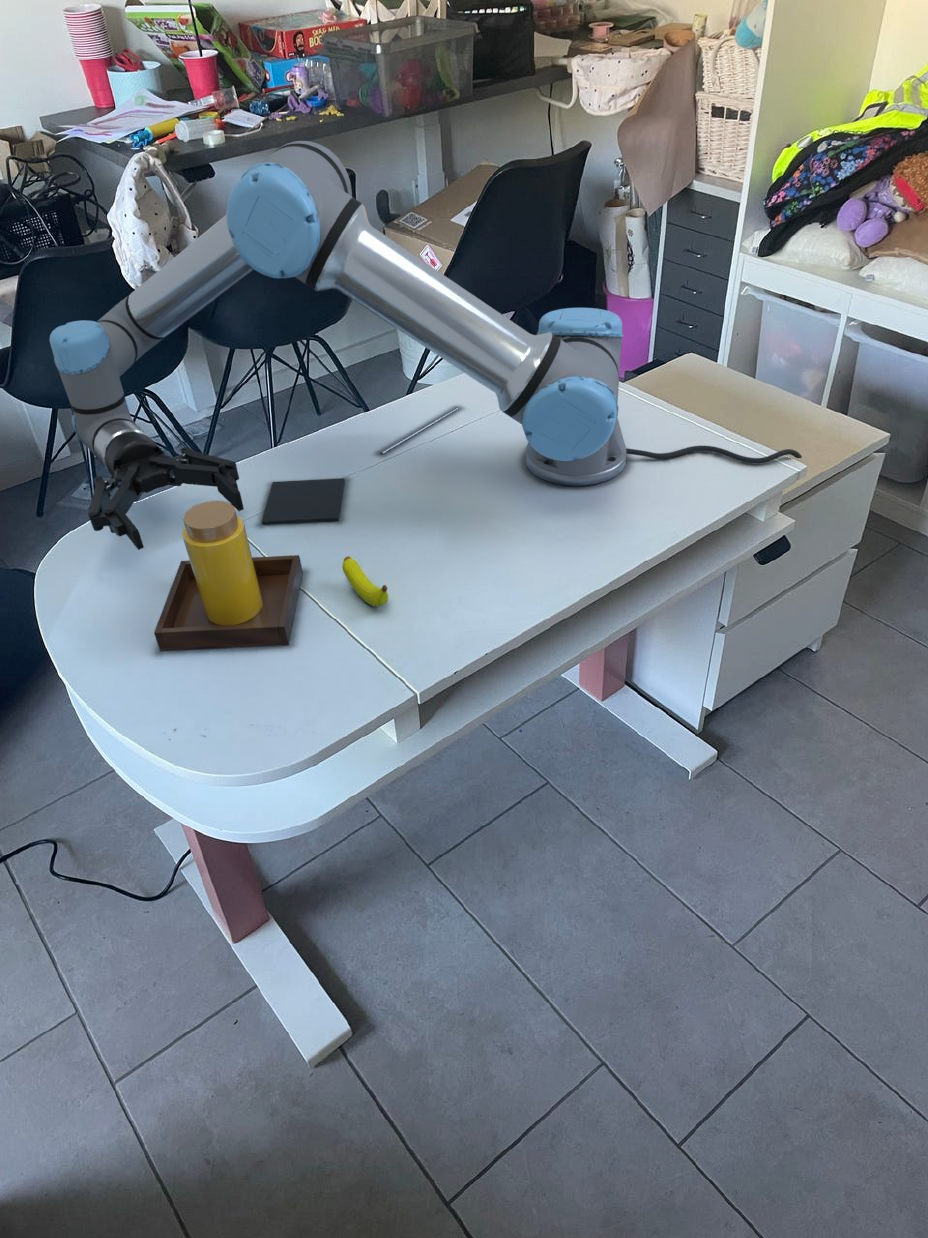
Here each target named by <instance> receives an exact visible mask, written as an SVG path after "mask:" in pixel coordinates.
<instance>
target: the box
mask: <svg viewBox="0 0 928 1238" xmlns="http://www.w3.org/2000/svg"><path fill="white" fill-rule="evenodd" d="M252 559H253V563H254V567H255V571H256V576H257V580H258V584H259V588H260V592H261V596H262V600H263V605H262V608H261V610H260V612H259V613H258V614H257V615H256V616H255V617H253V618H252V619H250V620H248V621H246V622H243V623H241V624H236V625H218V624H215V623H213V622H211V621H210V620H209V619H208V618H207V616H206V614H205V611H204V607H203V604H202V600H201V597H200V594H199V590H198V587H197V583H196V580H195V577H194V573H193V570H192V567H191V563H190V560H181V561H180V562H179V565H178V569H177V571H176V574H175V576H174V579H173V581H172V584H171V587H170V589H169V592H168V593H167V597H166V599H165V603H164V604H163V608H162V611H161V614H160V616H159V618H158V621H157V624H156V626H155V629H154V632H153V634H154V637H155V640H156V643H157V646H158V649H159V651H160V652H175V651H176V652H178V651H179V652H180V651H195V650H196V651H198V650H199V651H201V650H217V649H219V650H220V649H239V648H240V649H241V648H261V647H280V646H290V641H291V636H292V631H293V625H294V622H295V621H294V620H295V616H296V611H297V605H298V600H299V597H300V596H299V595H300V589H301V585H302V581H303V575H304V572H303V566H302V561H301V556H300V554H297V555H296V554H294V555H291V554H289V555H273V556H272V555H271V556H252Z"/></svg>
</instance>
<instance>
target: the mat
mask: <svg viewBox="0 0 928 1238" xmlns="http://www.w3.org/2000/svg"><path fill="white" fill-rule="evenodd" d="M345 482H346V479H345V478H344V477H339V478H323V479H302V480H287V481H286V480H282V481H272V482H271V486H270V491H269V495H268V498H267V502H266V504H265V509H264V512H263V516H262V519H261V525H262V526H268V525H269V526H270V525H285V524H288V525H289V524H304V523H305V524H306V523H308V524H309V523H327V522H340V521H339V520H340V516H341V509H342V504H343V503H342V502H343V495H344V489H345Z"/></svg>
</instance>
